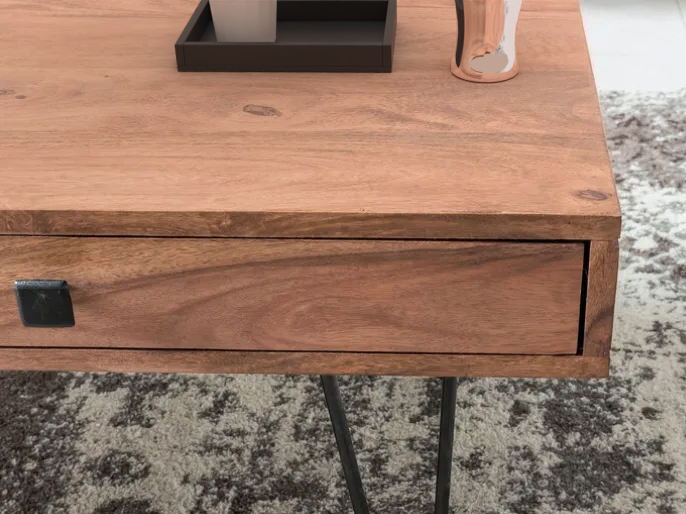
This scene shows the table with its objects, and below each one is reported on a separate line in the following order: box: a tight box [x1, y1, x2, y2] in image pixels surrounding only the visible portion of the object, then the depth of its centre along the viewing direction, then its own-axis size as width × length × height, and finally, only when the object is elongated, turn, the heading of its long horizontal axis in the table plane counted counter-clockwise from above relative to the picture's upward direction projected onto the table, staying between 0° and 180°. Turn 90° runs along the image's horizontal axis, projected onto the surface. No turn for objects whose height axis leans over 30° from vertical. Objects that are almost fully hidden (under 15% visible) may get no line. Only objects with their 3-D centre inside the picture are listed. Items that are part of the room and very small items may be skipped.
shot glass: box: [209, 0, 277, 42], centre depth 99 cm, size 7×7×7 cm
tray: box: [174, 0, 398, 73], centre depth 100 cm, size 20×14×2 cm
